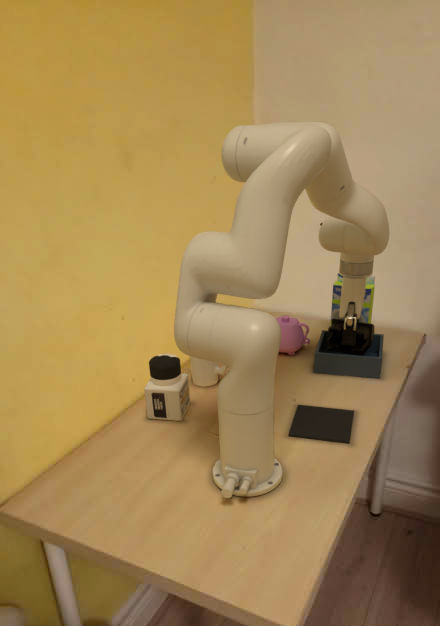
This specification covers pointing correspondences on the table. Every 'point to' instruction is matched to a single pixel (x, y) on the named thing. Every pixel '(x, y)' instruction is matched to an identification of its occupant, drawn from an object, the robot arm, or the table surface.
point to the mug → (205, 372)
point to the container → (167, 389)
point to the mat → (322, 423)
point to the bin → (349, 359)
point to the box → (367, 304)
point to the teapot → (292, 334)
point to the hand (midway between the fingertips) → (349, 337)
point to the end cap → (362, 338)
